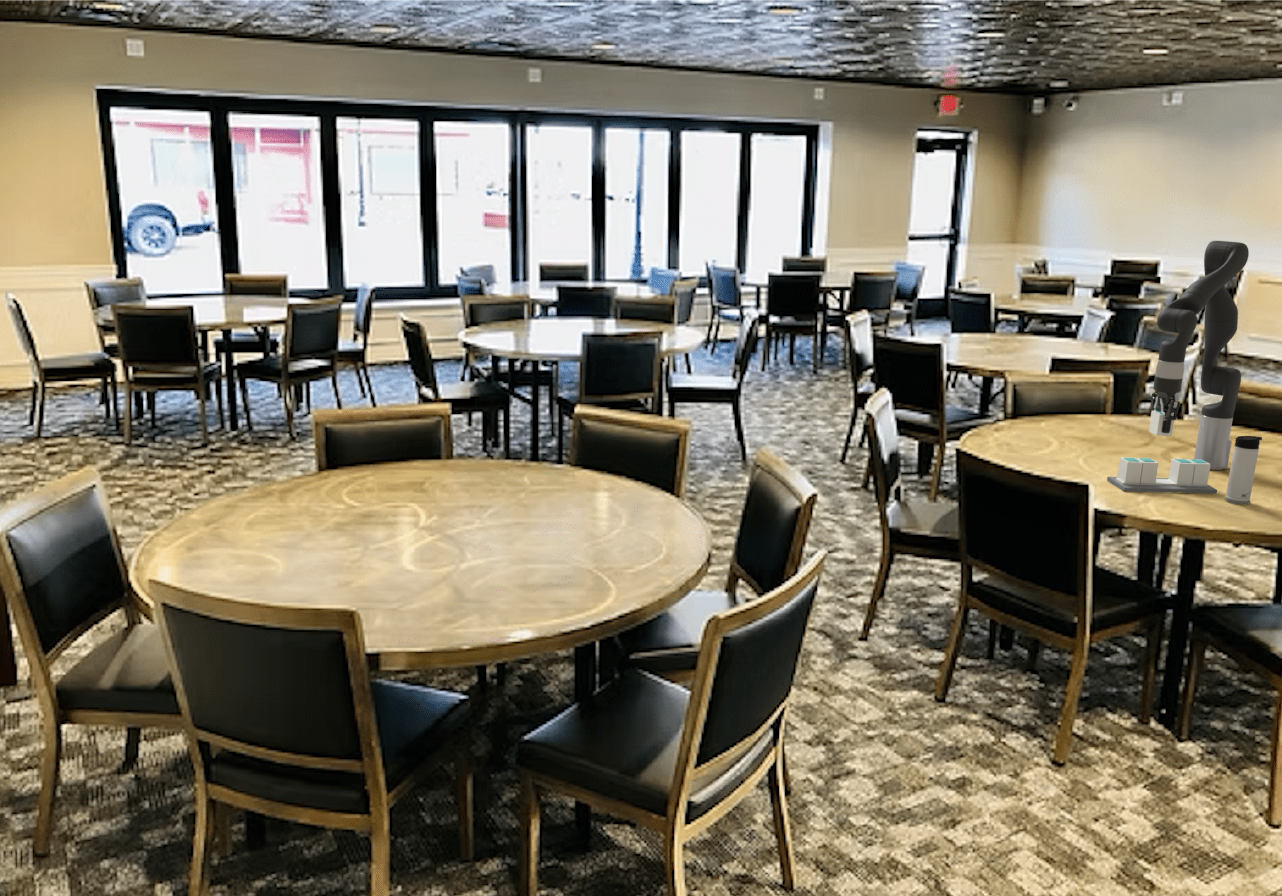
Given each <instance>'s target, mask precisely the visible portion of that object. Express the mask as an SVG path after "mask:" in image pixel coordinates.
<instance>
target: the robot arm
mask: <svg viewBox="0 0 1282 896" xmlns="http://www.w3.org/2000/svg"><path fill="white" fill-rule="evenodd" d="M1249 253H1250V252H1249V248H1248V245H1247V244H1245V243H1244V242H1239V241H1228V240H1227V241H1226V240H1211V241H1210V242H1209V243H1208V244H1207V246H1206V247H1205V251H1204V259H1203V267H1204V269H1203V270H1204V276H1202V277H1200V278H1198V279H1196V280H1195V281H1193V282H1192V283H1191V284H1190V285H1189V286H1188V287H1187V288H1186V289H1185V291H1184V292H1183V293H1182V294H1181V296H1180V297H1178V298H1177V299H1175V300H1174V301H1172V302H1171V303H1169V304H1168V305H1167V306H1165V307H1164V308H1163V309H1162V310H1161V311H1160V312H1159V314H1158V316H1157V318H1156V324H1157V327H1158V328H1159V330H1160V331H1163V332H1168V333H1173V334H1174V333H1175V334H1178V335H1177V336H1176V337H1175V339H1167V340H1163V341H1162V342H1161V343H1160V346H1159V353H1158V360H1157V363H1156V367H1155V374H1154V379H1153V380H1154V381H1153V390H1154V391H1155V393H1154V392H1152V393H1151V396H1150V397H1151V401H1150V413H1151V412H1152V411H1161V413H1163V424H1162V432H1163V433H1169V432H1170V427H1171V421H1173V420H1174V421H1176V420H1177V418H1178V417H1177V416H1178V415H1179V409H1180V405H1181V401H1176V395H1177V394H1178V393H1180V392H1181V391H1182V385H1183V378H1184V372H1185V359H1186V355H1187V354H1186V353H1187V348H1188V345H1189V343H1190V340H1191V338H1192V335H1193V334H1194V332H1195V330H1196V329H1197V324H1198V317H1197V314H1199V313H1201V311H1202V310H1203V308H1205V310H1204V322H1203V323H1204V324H1203V325H1204V334H1203V335H1204V339H1203V340H1204V341H1203V342H1204V345H1203V347H1204V348H1203V356H1202V357H1203V358H1202V366H1201V375H1200V387H1201V391H1202V392H1203V393H1205V394H1209V395H1213V396H1214V395H1216V396H1221V397H1222V399H1220V401H1218V402H1215V403H1208V404H1205V405H1203V406H1202V407H1201V413H1200V417H1199V418H1200V419H1199V426H1198V432H1197V436H1196V438H1197V439H1196V444H1195V449H1194V450H1195V451H1194V456H1193V459H1201V460H1203V461H1205V462H1207V463H1209V464H1211V465H1210V470H1212V471H1213V470H1214V471H1221V470H1227V469H1228V467H1229V459H1230V454H1231V449H1232V442H1233V441H1232V440H1231V439H1230V436H1231V431H1232V424H1233V419H1234V415H1235V414H1234V413H1235V410H1236V406H1237V402H1238V401H1237V400H1238V396H1239V392H1240V388H1241V384H1242V373H1241V370H1240V369H1238V368H1232V367H1227V366H1220V365H1219V366H1218V357H1219V355H1220V353H1221V352H1222V350H1223V349H1224V348H1225V346H1227V345H1228V343H1229V342H1230V341H1231V340H1232V338H1233V337H1234V336H1235V335H1236V333H1237V330H1238V322H1239V321H1238V319H1239V309H1238V306H1237V304H1236V302H1235V301H1234V299H1233V297H1232V296H1231V294H1230V293H1229V291H1228V290H1227V288H1226V287H1225V285H1226V284H1227V283H1229V282H1230V281H1231V280H1232V279H1233V278H1234V277H1236V276H1237V275H1238V274H1239V273H1240V272H1242V270H1243V269H1244V268H1245V266H1246V265H1247V263H1248V260H1249ZM1166 413H1167V416H1166ZM1173 414H1174V415H1173Z"/></svg>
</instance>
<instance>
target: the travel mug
mask: <svg viewBox="0 0 1282 896" xmlns="http://www.w3.org/2000/svg"><path fill="white" fill-rule="evenodd" d="M1262 440H1263V437H1262V436H1257V435H1255V436H1254V435H1238V436H1237V437H1236V438H1235V441H1234V447H1233V450H1232V457H1231V463H1230V469H1229V474H1228V479H1227V480H1228V481H1227V486H1226V487H1227V488H1226V493H1225V499H1224V500H1225V501H1226V502H1228V503H1230V504H1233V503H1234V505H1239V504H1240V505H1241V506H1242V505H1244V506H1245V504H1246V505H1249V504H1250V501H1251V495H1252V491H1253V484H1254V477H1255V474H1256V473H1255V472H1256V466H1257V462H1258V455H1259V450H1260V443H1261V442H1260V441H1262Z"/></svg>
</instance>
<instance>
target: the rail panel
mask: <svg viewBox="0 0 1282 896" xmlns="http://www.w3.org/2000/svg"><path fill="white" fill-rule="evenodd" d="M1210 465H1211V464H1209V463H1207V462H1205V461H1203V460H1201V459H1194V458H1192V459H1191V458H1189V459H1188V458H1171V459H1170V464H1169V469H1168V470H1169V471H1168V477H1157V475H1158V469H1159V462H1158V461H1156V460H1154V459H1152V458H1150V457H1119V461H1118V469H1117V475H1116V476H1107V478H1106V481H1107V482H1108V483H1110V484H1112V485H1113V486H1115V487H1116V488H1118V489H1119V490H1121V491H1122V492H1134V493H1167V492H1181V493H1180V494H1213V495H1214V494H1215V495H1217V494H1218V489H1216V488H1214V487H1213V486H1211V485H1209V484H1208V482H1209V476H1210V470H1211V469H1210Z"/></svg>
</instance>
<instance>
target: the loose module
mask: <svg viewBox="0 0 1282 896" xmlns="http://www.w3.org/2000/svg"><path fill="white" fill-rule="evenodd" d="M1173 415H1174V413H1173ZM1166 416H1167V413H1166ZM1174 423H1175V420H1173V421H1171V427H1170V432H1169V433H1163V432H1162V424H1163V413H1161V411H1152V412H1151V411H1150V419H1149V426H1148V432H1149V433H1151V434H1153V435H1154V436H1161V437H1163V436H1164V437H1166V436H1167V437H1172V436H1173V429H1174Z"/></svg>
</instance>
